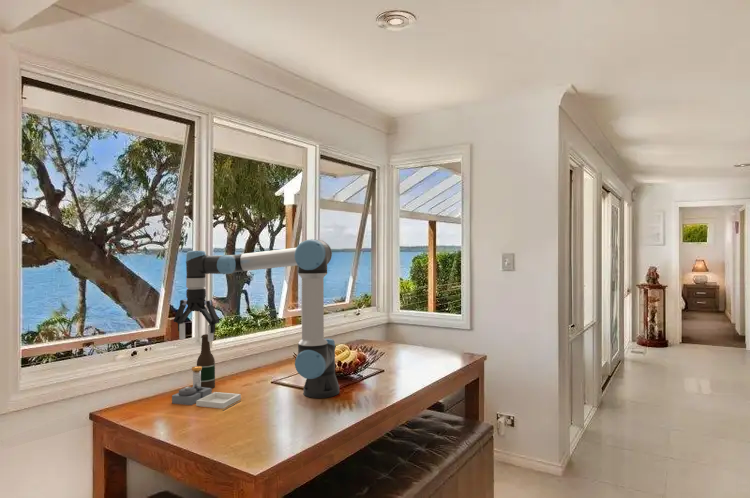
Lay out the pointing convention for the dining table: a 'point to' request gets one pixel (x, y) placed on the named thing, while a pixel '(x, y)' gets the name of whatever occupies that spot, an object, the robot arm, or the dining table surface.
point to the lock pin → (197, 377)
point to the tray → (219, 400)
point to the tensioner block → (190, 395)
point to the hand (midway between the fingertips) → (196, 340)
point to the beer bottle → (206, 364)
